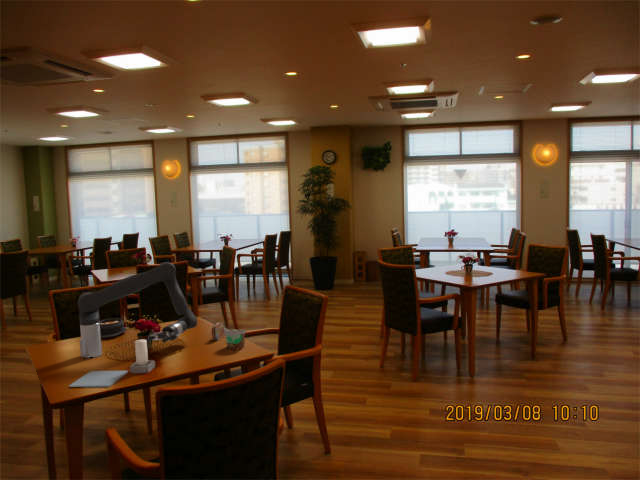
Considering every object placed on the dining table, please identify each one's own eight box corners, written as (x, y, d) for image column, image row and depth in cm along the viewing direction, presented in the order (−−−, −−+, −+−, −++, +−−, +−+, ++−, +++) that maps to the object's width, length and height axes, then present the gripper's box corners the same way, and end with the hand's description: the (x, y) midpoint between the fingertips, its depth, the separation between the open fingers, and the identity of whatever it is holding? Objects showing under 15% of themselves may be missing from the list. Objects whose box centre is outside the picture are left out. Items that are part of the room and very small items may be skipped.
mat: (69, 387, 216) (68, 385, 216) (90, 372, 234) (90, 371, 233) (109, 387, 214) (108, 385, 214) (127, 372, 232) (127, 370, 232)
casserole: (122, 338, 290) (121, 324, 289) (88, 341, 287) (87, 327, 286) (130, 328, 315) (129, 315, 314) (99, 330, 311) (98, 317, 310)
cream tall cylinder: (135, 371, 233) (132, 342, 231) (139, 367, 238) (137, 339, 236) (145, 371, 232) (143, 342, 231) (150, 367, 237) (148, 339, 236)
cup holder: (129, 373, 231) (129, 366, 231) (137, 366, 240) (137, 360, 239) (148, 372, 230) (147, 366, 230) (155, 366, 239) (155, 360, 239)
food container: (220, 349, 262) (219, 330, 262) (226, 345, 268) (225, 327, 267) (240, 351, 258) (239, 332, 257) (246, 347, 263) (245, 329, 263)
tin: (216, 341, 276) (215, 327, 276) (211, 341, 277) (210, 326, 276) (226, 334, 291) (225, 320, 290) (221, 334, 292) (220, 320, 291)
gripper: (159, 324, 262) (141, 332, 246) (183, 324, 258) (167, 333, 243) (160, 337, 263) (143, 347, 247) (185, 338, 259) (168, 348, 243)
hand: (155, 340), depth 245 cm, fingers open, 8 cm apart
